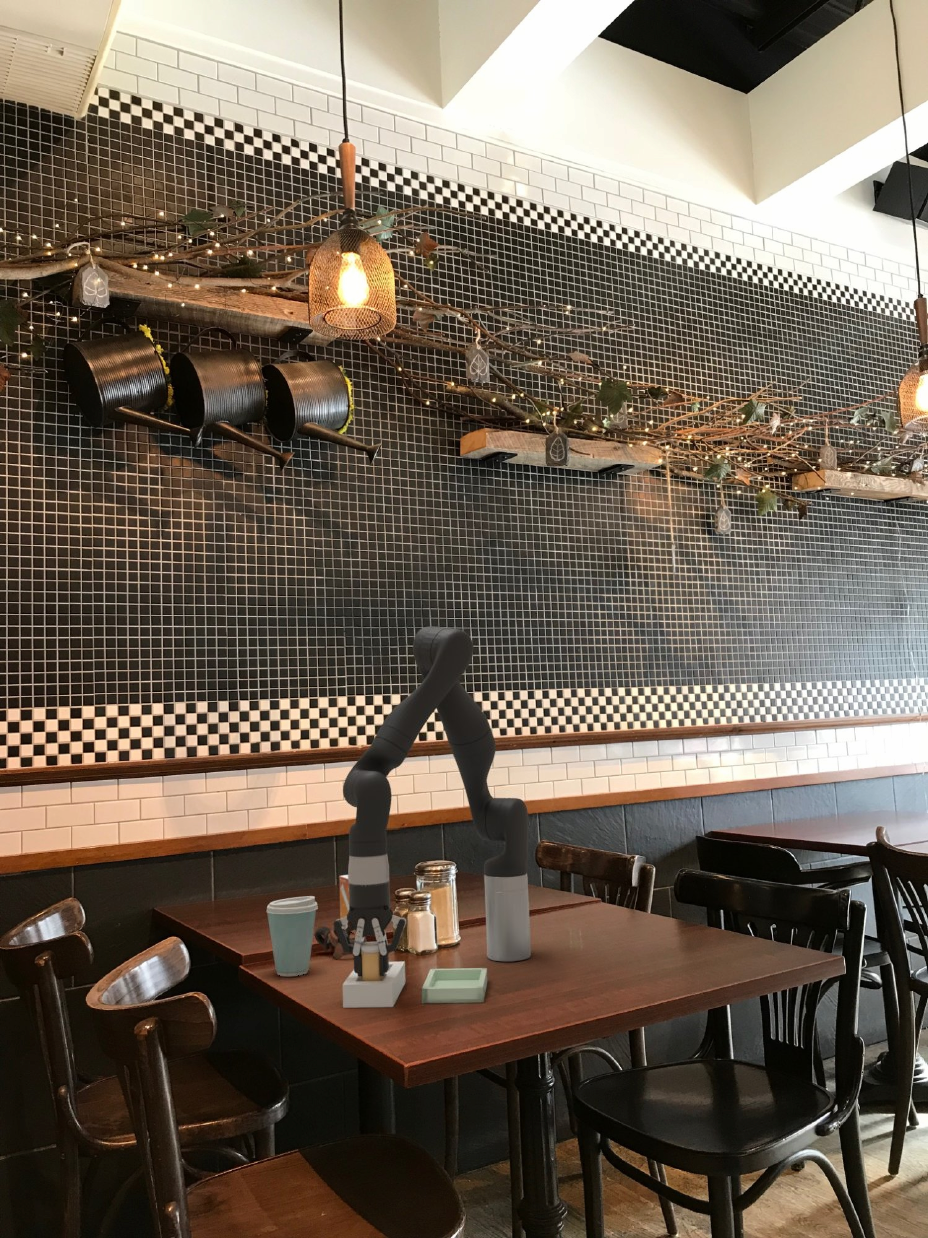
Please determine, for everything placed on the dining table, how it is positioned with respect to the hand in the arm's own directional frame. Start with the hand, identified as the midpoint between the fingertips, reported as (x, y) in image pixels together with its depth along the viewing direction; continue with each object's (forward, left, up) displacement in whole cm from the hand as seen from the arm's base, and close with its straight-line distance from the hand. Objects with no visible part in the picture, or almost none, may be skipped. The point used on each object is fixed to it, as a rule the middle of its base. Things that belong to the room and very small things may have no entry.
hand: (371, 975), depth 180 cm
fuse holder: (-4, 0, -4) cm, 6 cm away
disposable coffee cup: (-21, -20, -5) cm, 29 cm away
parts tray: (-5, +15, -4) cm, 16 cm away
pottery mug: (-36, -13, -5) cm, 39 cm away
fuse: (0, 0, -4) cm, 4 cm away
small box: (-61, -14, -5) cm, 62 cm away
